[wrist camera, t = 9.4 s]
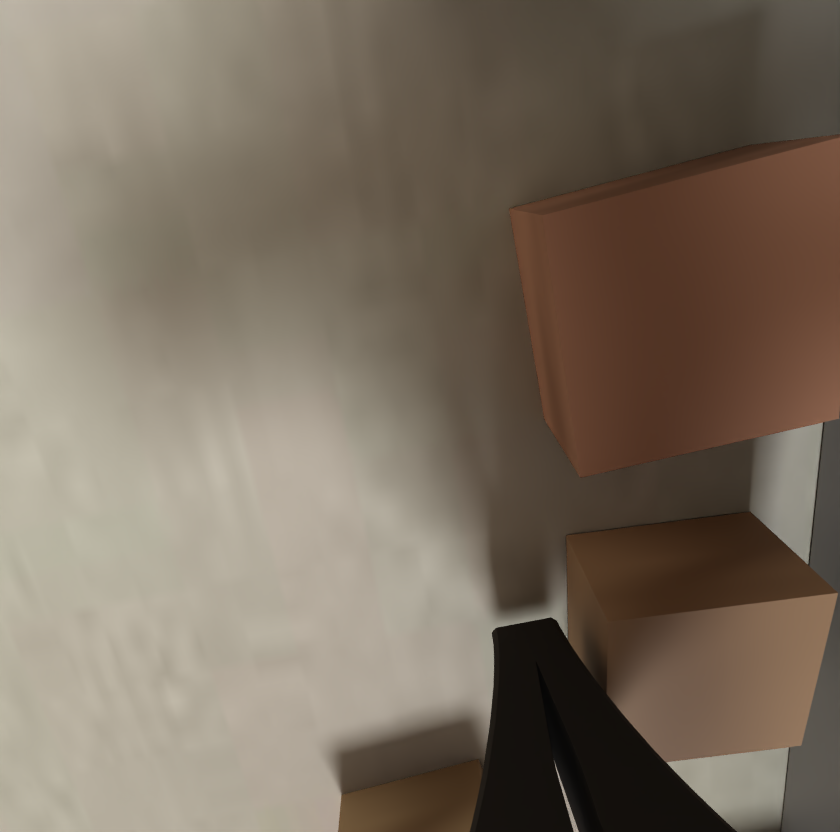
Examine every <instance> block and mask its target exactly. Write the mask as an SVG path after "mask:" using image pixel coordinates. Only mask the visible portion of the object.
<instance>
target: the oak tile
mask: <svg viewBox="0 0 840 832" xmlns="http://www.w3.org/2000/svg"><path fill="white" fill-rule="evenodd" d="M482 773H483V768H482V766H481V764H480V762H479V760H478V759H477V760H473V761H469V762H465V763H462V764H458V765H454V766H450V767H446V768H442V769H439V770H435V771H431V772H427V773H423V774H420V775H416V776H412V777H408V778H404V779H400V780H397V781H393V782H389V783H385V784H381V785H378V786H374V787H370V788H366V789H362V790H358V791H355V792H351V793H347V794H343V795H342V796H341V807H340V818H339V829H338V832H470V828H471V824H472V820H473V815H474V811H475V807H476V802H477V798H478V793H479V788H480V783H481V778H482Z"/></svg>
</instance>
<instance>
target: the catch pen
mask: <svg viewBox="0 0 840 832" xmlns="http://www.w3.org/2000/svg"><path fill="white" fill-rule="evenodd" d="M809 566H810V567H811V568H812V569H813V570H814V571H815V572H816V573H817V574H818V575H819V576H820V577H822V578H823V579H824V580H825V581H826V582H827V583H828V584H829V585H830V586H831V587H832V588H833V589H835V590H836V591H837V592H838V596H837V600H836V604H835V608H834V612H833V617H832V621H831V625H830V629H829V633H828V637H827V641H826V645H825V650H824V654H823V658H822V662H821V666H820V670H819V674H818V679H817V683H816V687H815V691H814V695H813V699H812V703H811V707H810V712H809V716H808V720H807V724H806V728H805V732H804V736H803V741H802V745H801V746H794V747H790V753H789V762H788V772H787V781H786V791H785V800H784V810H783V819H782V828H781V832H840V412H839V419H835V420H831V421H826V422H825V423H824V433H823V442H822V452H821V461H820V471H819V480H818V489H817V499H816V508H815V518H814V527H813V536H812V546H811V555H810V565H809Z"/></svg>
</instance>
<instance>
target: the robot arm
mask: <svg viewBox="0 0 840 832" xmlns="http://www.w3.org/2000/svg"><path fill="white" fill-rule="evenodd" d="M492 637H493V644H494V688H493V699H492V709H491V720H490V728H489V735H488V742H487V748H486V754H485V760H484V767H483V773H482V778H481V783H480V788H479V793H478V798H477V802H476V807H475V811H474V815H473V820H472V824H471V828H470V832H574V831H573V828H572V824H571V821H570V817H569V814H568V810H567V807H566V803H565V800H564V796H563V793H562V789H561V786H560V782H559V779H558V775H557V772H556V767H557V770H558V773H559V776H560V779H561V781H562V784H563V787H564V790H565V793H566V796H567V799H568V802H569V804H570V807H571V810H572V813H573V816H574V819H575V822H576V824H577V827H578V830H579V832H737V831H736V830H734V829H733V828H732V827H731V826H730V825H729V824H728V823H727V822H726V821H724V820H723V819H722V818H721V817H720V816H719V815H718V814H717V813H716V812H715V811H714V810H713V809H712V808H711V807H710V806H709V805H708V804H707V803H706V802H705V801H704V800H703V799H702V798H701V797H699V796H698V795H697V794H696V793H695V792H694V791H693V790H692V789H691V788H690V787H689V786H688V785H687V784H686V783H685V782H684V781H683V780H682V779H681V778H680V776H679V775H678V774H677V773H676V772H675V771H674V770H673V769H672V768H671V767H670V766H669V765H668V764H667V763H666V762H665V761H664V760H663V759H662V758H661V757H660V756H659V754H658V753H657V752H656V751H655V750H654V749H653V748H652V747H651V746H650V745H649V744H648V742H647V741H646V740H645V739H644V738H643V737H642V736H641V734H640V733H639V732H638V731H637V730H636V729H635V728H634V727H633V725H632V724H631V723H630V722H629V721H628V720H627V718H626V717H625V716H624V715H623V714H622V712H621V711H620V710H619V709H618V708H617V706H616V705H615V704H614V703H613V701H612V700H611V699H610V698H609V696H608V695H607V694H606V692H605V691H604V690H603V689H602V687H601V686H600V685H599V684H598V682H597V681H596V680H595V678H594V677H593V676H592V674H591V673H590V672H589V670H588V669H587V668H586V666H585V665H584V663H583V662H582V661H581V659H580V658H579V656H578V655H577V653H576V652H575V650H574V649H573V647H572V646H571V644H570V643H569V641H568V640H567V638H566V636H565V635H564V633H563V631H562V630H561V628H560V626H559V624H558V622H557V621H556V620H554V619H553V618H546V619H541V620H535V621H530V622H525V623H519V624H514V625H509V626H504V627H498V628H496V629H495V630H494V631H493V632H492ZM553 758H554V759H553ZM554 761H555V763H554ZM555 764H556V767H555Z"/></svg>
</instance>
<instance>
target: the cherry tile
mask: <svg viewBox="0 0 840 832" xmlns="http://www.w3.org/2000/svg"><path fill="white" fill-rule="evenodd" d="M509 211H510V217H511V223H512V229H513V235H514V241H515V247H516V253H517V259H518V265H519V271H520V277H521V283H522V289H523V295H524V301H525V307H526V313H527V319H528V325H529V331H530V337H531V343H532V349H533V354H534V360H535V366H536V372H537V378H538V384H539V390H540V396H541V402H542V408H543V414H544V420H545V421H546V423H547V425H548V426H549V428H550V429H551V431H552V433H553V434H554V436H555V438H556V439H557V441H558V442H559V444H560V446H561V447H562V449H563V451H564V452H565V454H566V455H567V457H568V459H569V460H570V462H571V463H572V465H573V467H574V468H575V470H576V472H577V473H578V475H579V476H580V478H582V477H586V476H590V475H595V474H599V473H603V472H608V471H612V470H617V469H621V468H625V467H630V466H634V465H638V464H643V463H647V462H652V461H656V460H660V459H665V458H669V457H673V456H678V455H682V454H687V453H691V452H695V451H700V450H704V449H708V448H713V447H717V446H721V445H726V444H730V443H735V442H739V441H743V440H748V439H752V438H756V437H761V436H765V435H770V434H774V433H778V432H783V431H787V430H791V429H796V428H800V427H805V426H809V425H813V424H818V423H822V422H826V421H831V420H835V419H839V412H840V134H838V135H830V136H821V137H813V138H804V139H796V140H787V141H779V142H770V143H762V144H753V145H748V146H744V147H740V148H736V149H733V150H729V151H725V152H721V153H717V154H714V155H710V156H706V157H702V158H699V159H695V160H691V161H687V162H683V163H680V164H676V165H672V166H668V167H664V168H661V169H657V170H653V171H649V172H646V173H642V174H638V175H634V176H630V177H627V178H623V179H619V180H615V181H612V182H608V183H604V184H600V185H596V186H593V187H589V188H585V189H581V190H578V191H574V192H570V193H566V194H562V195H559V196H555V197H551V198H547V199H544V200H540V201H536V202H532V203H528V204H525V205H521V206H517V207H513V208H510V209H509Z"/></svg>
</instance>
